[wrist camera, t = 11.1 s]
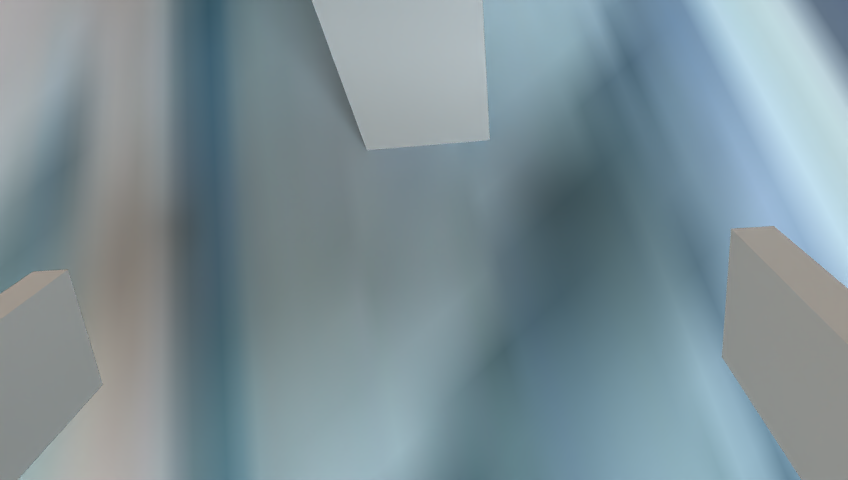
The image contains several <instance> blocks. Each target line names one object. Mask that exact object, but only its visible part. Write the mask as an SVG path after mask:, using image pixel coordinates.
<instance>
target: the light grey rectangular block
mask: <svg viewBox="0 0 848 480" xmlns="http://www.w3.org/2000/svg"><path fill="white" fill-rule="evenodd" d="M312 3H313V5H314V8H315V11H316V13H317V16H318V19H319V22H320V24H321V27H322V30H323V32H324V35H325V38H326V41H327V43H328V46H329V49H330V51H331V54H332V57H333V60H334V62H335V65H336V68H337V70H338V73H339V76H340V79H341V81H342V84H343V87H344V90H345V92H346V95H347V98H348V100H349V103H350V106H351V109H352V111H353V114H354V117H355V119H356V122H357V125H358V128H359V130H360V133H361V136H362V138H363V141H364V144H365V147H366V149H367V150H377V149H389V148H401V147H413V146H425V145H437V144H449V143H461V142H473V141H485V140H490V134H489V115H488V96H487V76H486V57H485V37H484V18H483V0H312Z"/></svg>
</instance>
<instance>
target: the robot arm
mask: <svg viewBox="0 0 848 480" xmlns="http://www.w3.org/2000/svg"><path fill="white" fill-rule="evenodd" d="M722 358H723V359H724V361H725V362H726V364H727V365H728V367H729V368H730V370H731V372H732V373H733V375H734V376H735V378H736V379H737V381H738V382H739V384H740V385H741V387H742V389H743V390H744V392H745V393H746V395H747V396H748V398H749V399H750V401H751V402H752V404H753V405H754V407H755V409H756V410H757V412H758V413H759V415H760V416H761V418H762V419H763V421H764V422H765V424H766V426H767V427H768V429H769V430H770V432H771V433H772V435H773V436H774V438H775V439H776V441H777V443H778V444H779V446H780V447H781V449H782V450H783V452H784V453H785V455H786V456H787V458H788V459H789V461H790V463H791V464H792V466H793V467H794V469H795V470H796V472H797V473H798V475H799V476H800V478H801V480H848V288H846V287H845V286H844V285H843V284H842V283H841V282H839V281H838V280H837V279H836V278H835V277H833V276H832V275H831V274H830V273H829V272H827V271H826V270H825V269H824V268H823V267H822V266H820V265H819V264H818V263H817V262H816V261H814V260H813V259H812V258H811V257H810V256H809V255H807V254H806V253H805V252H804V251H803V250H801V249H800V248H799V247H798V246H797V245H795V244H794V243H793V242H792V241H791V240H790V239H788V238H787V237H786V236H785V235H784V234H782V233H781V232H780V231H779V230H778V229H777V228H775V227H774V226H768V227H752V228H736V229H731V238H730V252H729V266H728V280H727V294H726V308H725V322H724V336H723V349H722ZM102 385H103V384H102V380H101V377H100V374H99V370H98V367H97V364H96V360H95V357H94V354H93V350H92V347H91V344H90V340H89V337H88V334H87V330H86V327H85V324H84V320H83V317H82V314H81V310H80V307H79V304H78V300H77V297H76V294H75V291H74V287H73V284H72V281H71V277H70V274H69V271H68V270H51V271H35V272H32V273H30V274H29V275H27V276H26V277H24V278H23V279H21V280H20V281H19V282H17V283H16V284H14V285H13V286H11V287H10V288H8V289H7V290H5V291H4V292H2V293H1V294H0V480H18V479H19V478H20V477H21V475H22V474H23V473H24V472H25V471H26V470H27V469H28V468H29V466H30V465H31V464H32V463H33V462H34V461H35V460H36V459H37V458H38V456H39V455H40V454H41V453H42V452H43V451H44V450H45V449H46V447H47V446H48V445H49V444H50V443H51V442H52V441H53V440H54V439H55V437H56V436H57V435H58V434H59V433H60V432H61V431H62V430H63V428H64V427H65V426H66V425H67V424H68V423H69V422H70V421H71V420H72V418H73V417H74V416H75V415H76V414H77V413H78V412H79V411H80V409H81V408H82V407H83V406H84V405H85V404H86V403H87V402H88V401H89V399H90V398H91V397H92V396H93V395H94V394H95V393H96V392H97V390H98V389H99V388H100V387H101V386H102Z"/></svg>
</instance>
